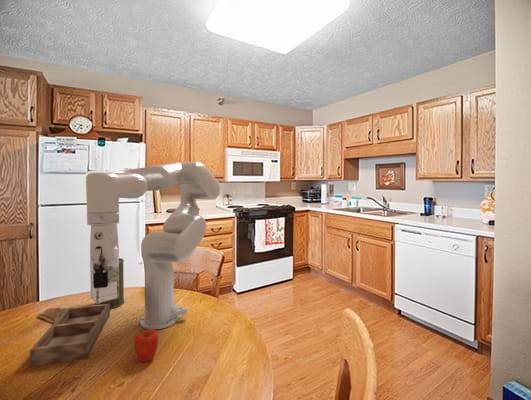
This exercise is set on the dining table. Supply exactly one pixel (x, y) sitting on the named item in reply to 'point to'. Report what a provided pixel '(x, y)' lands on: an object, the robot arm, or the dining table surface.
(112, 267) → the syrup box
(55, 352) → the tray
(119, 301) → the canister
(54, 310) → the shard
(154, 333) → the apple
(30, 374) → the dining table surface
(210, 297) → the dining table surface
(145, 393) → the dining table surface
